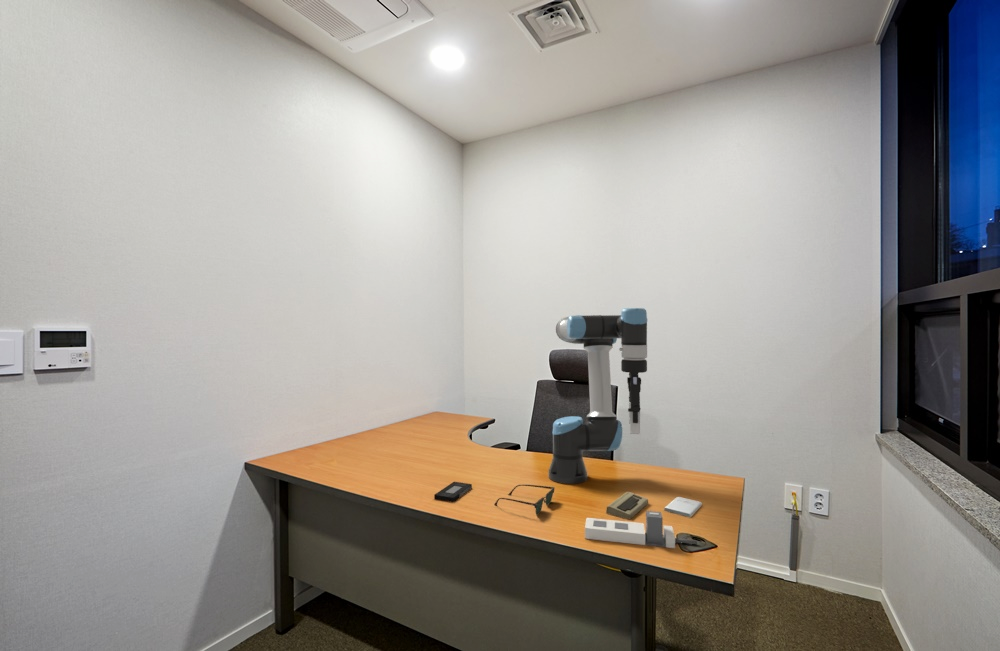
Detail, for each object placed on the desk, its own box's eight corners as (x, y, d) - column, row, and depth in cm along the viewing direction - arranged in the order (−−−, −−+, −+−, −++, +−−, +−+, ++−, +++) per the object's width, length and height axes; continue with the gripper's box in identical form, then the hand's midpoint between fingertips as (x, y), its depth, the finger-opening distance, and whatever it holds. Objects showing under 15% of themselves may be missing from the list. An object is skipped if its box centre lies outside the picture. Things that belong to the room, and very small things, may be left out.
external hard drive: (664, 512, 148) (677, 500, 158) (690, 519, 143) (702, 506, 153) (664, 507, 148) (676, 495, 158) (690, 513, 143) (701, 501, 153)
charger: (646, 535, 131) (646, 510, 131) (660, 536, 130) (660, 511, 130) (647, 541, 127) (647, 515, 127) (662, 543, 126) (662, 517, 126)
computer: (630, 521, 141) (630, 510, 141) (605, 514, 147) (605, 504, 147) (648, 505, 154) (648, 495, 154) (625, 499, 159) (625, 490, 159)
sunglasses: (512, 492, 166) (511, 479, 166) (555, 501, 158) (555, 486, 157) (489, 509, 151) (489, 494, 151) (536, 519, 143) (536, 503, 143)
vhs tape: (472, 489, 169) (471, 484, 169) (453, 503, 156) (453, 497, 156) (454, 486, 172) (454, 481, 172) (434, 500, 159) (434, 494, 159)
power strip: (586, 527, 136) (586, 517, 136) (694, 538, 129) (694, 527, 129) (584, 538, 130) (584, 527, 130) (699, 551, 122) (699, 539, 122)
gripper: (620, 355, 152) (621, 419, 152) (621, 362, 128) (622, 437, 128) (644, 356, 150) (644, 420, 151) (649, 362, 126) (650, 439, 126)
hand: (634, 428), depth 139 cm, fingers open, 13 cm apart
